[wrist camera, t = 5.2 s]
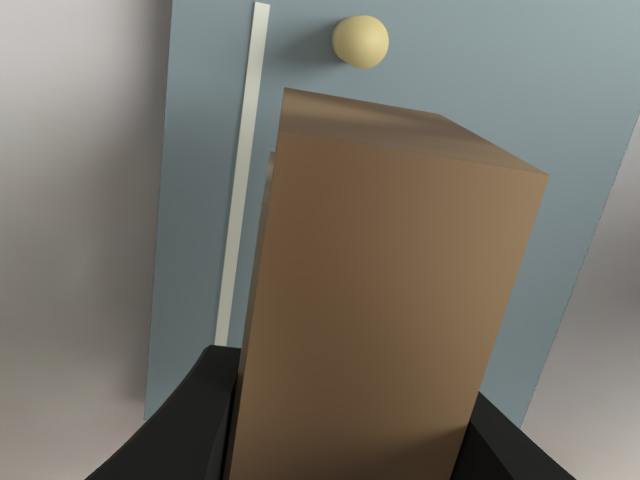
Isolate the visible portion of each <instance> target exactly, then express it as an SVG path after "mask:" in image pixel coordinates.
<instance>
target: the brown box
mask: <svg viewBox="0 0 640 480" xmlns="http://www.w3.org/2000/svg"><path fill="white" fill-rule="evenodd" d="M549 176H550V175H549V174H547V173H545V172H543V171H542V170H540V169H538V168H536V167H534V166H533V165H531V164H529V163H527V162H525V161H524V160H522V159H520V158H518V157H516V156H515V155H513V154H511V153H509V152H507V151H505V150H504V149H502V148H500V147H498V146H496V145H495V144H493V143H491V142H489V141H487V140H486V139H484V138H482V137H480V136H478V135H477V134H475V133H473V132H471V131H469V130H468V129H466V128H464V127H462V126H460V125H459V124H457V123H455V122H453V121H451V120H450V119H448V118H446V117H444V116H442V115H440V114H437V113H431V112H425V111H419V110H413V109H408V108H402V107H396V106H390V105H385V104H379V103H373V102H367V101H361V100H356V99H350V98H344V97H338V96H332V95H327V94H321V93H315V92H309V91H304V90H298V89H292V88H286V87H284V92H283V99H282V106H281V113H280V120H279V127H278V134H277V141H276V147H275V152H271V151H270V156H269V162H268V168H267V174H266V180H265V186H264V192H263V199H262V205H261V212H260V219H259V226H258V233H257V240H256V248H255V255H254V262H253V269H252V276H251V283H250V290H249V297H248V305H247V312H246V319H245V326H244V333H243V340H242V347H241V354H240V362H239V369H238V378H237V385H236V392H235V399H234V406H233V413H232V420H231V427H230V434H229V441H228V448H227V455H226V462H225V469H224V476H223V480H450V477H451V474H452V471H453V468H454V465H455V462H456V459H457V456H458V453H459V450H460V447H461V444H462V441H463V438H464V435H465V431H466V428H467V425H468V422H469V419H470V416H471V413H472V410H473V407H474V404H475V401H476V398H477V395H478V392H479V389H480V386H481V383H482V380H483V377H484V374H485V371H486V368H487V365H488V362H489V359H490V356H491V352H492V349H493V346H494V343H495V340H496V337H497V334H498V331H499V328H500V325H501V322H502V319H503V316H504V313H505V310H506V307H507V304H508V301H509V298H510V295H511V292H512V289H513V286H514V283H515V280H516V277H517V273H518V270H519V267H520V264H521V261H522V258H523V255H524V252H525V249H526V246H527V243H528V240H529V237H530V234H531V231H532V228H533V225H534V222H535V219H536V216H537V213H538V210H539V207H540V204H541V201H542V198H543V194H544V191H545V188H546V185H547V182H548V179H549Z"/></svg>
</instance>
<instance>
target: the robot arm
mask: <svg viewBox="0 0 640 480" xmlns="http://www.w3.org/2000/svg"><path fill="white" fill-rule="evenodd" d="M240 354H241V348H235V347H226V346H218V345H209V346H208V347H206V348H205V349H204V350H203V351H202V353H201V355H200V357H199V358H198V360H197V361H196V363H195V364H194V366H193V367H192V368H191V370H190V371H189V373H188V374H187V375H186V376H185V378H184V379H183V380H182V382H181V383H180V384H179V385H178V387H177V388H176V389H175V390H174V391H173V392H172V394H171V395H170V396H169V397H168V398H167V399H166V401H165V402H164V403H163V404H162V405H161V406H160V408H159V409H158V410H157V411H156V412H155V413H154V414H153V415H152V416H151V417H150V418H149V419H148V420H147V422H146V423H145V424H144V425H143V426H142V427H141V428H140V429H139V430H138V431H137V432H136V433H135V434H134V435H133V436H132V437H131V438H130V439H129V440H128V441H127V442H126V443H125V444H124V445H123V446H122V447H121V448H120V449H118V450H117V451H116V452H115V453H114V454H113V455H112V456H111V457H110V458H109V459H108V460H107V461H105V462H104V463H103V464H102V465H101V466H100V467H99V468H97V469H96V470H95V471H94V472H93V473H92V474H90V475H89V476H88V477H87V478H86V479H84V480H223V476H224V469H225V462H226V455H227V448H228V441H229V434H230V427H231V420H232V413H233V406H234V399H235V392H236V385H237V378H238V369H239V362H240ZM450 480H576V479H575V478H574V477H573V476H571V475H570V474H569V473H568V472H567V471H566V470H564V469H563V468H562V467H561V466H560V465H558V464H557V463H556V462H555V461H554V460H553V459H552V458H551V457H549V456H548V455H547V454H546V453H545V452H544V451H543V450H542V449H540V448H539V447H538V446H537V445H536V444H535V443H534V442H533V441H532V440H531V439H530V438H528V437H527V436H526V435H525V434H524V433H523V432H522V431H521V430H520V429H519V428H518V427H517V426H516V425H514V424H513V423H512V422H511V421H510V420H509V419H508V418H507V417H506V416H505V415H504V414H503V413H502V412H501V411H500V410H499V409H498V408H497V407H496V406H494V405H493V404H492V403H491V402H490V401H489V400H488V399H487V398H486V397H485V396H484V395H483V394H482V393H481V392H480V391H479V392H478V395H477V398H476V401H475V404H474V407H473V410H472V413H471V416H470V419H469V422H468V425H467V428H466V431H465V435H464V438H463V441H462V444H461V447H460V450H459V453H458V456H457V459H456V462H455V465H454V468H453V471H452V474H451V477H450Z"/></svg>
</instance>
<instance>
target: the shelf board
mask: <svg viewBox="0 0 640 480" xmlns="http://www.w3.org/2000/svg"><path fill="white" fill-rule="evenodd" d="M284 87H286V88H292V89H298V90H304V91H309V92H315V93H321V94H327V95H332V96H338V97H344V98H350V99H356V100H361V101H367V102H373V103H379V104H385V105H390V106H396V107H402V108H408V109H413V110H419V111H425V112H431V113H437V114H440V115H442V116H444V117H446V118H448V119H450V120H451V121H453V122H455V123H457V124H459V125H460V126H462V127H464V128H466V129H468V130H469V131H471V132H473V133H475V134H477V135H478V136H480V137H482V138H484V139H486V140H487V141H489V142H491V143H493V144H495V145H496V146H498V147H500V148H502V149H504V150H505V151H507V152H509V153H511V154H513V155H515V156H516V157H518V158H520V159H522V160H524V161H525V162H527V163H529V164H531V165H533V166H534V167H536V168H538V169H540V170H542V171H543V172H545V173H547V174H549V175H550V176H549V179H548V182H547V185H546V188H545V191H544V194H543V198H542V201H541V204H540V207H539V210H538V213H537V216H536V219H535V222H534V225H533V228H532V231H531V234H530V237H529V240H528V243H527V246H526V249H525V252H524V255H523V258H522V261H521V264H520V267H519V270H518V273H517V277H516V280H515V283H514V286H513V289H512V292H511V295H510V298H509V301H508V304H507V307H506V310H505V313H504V316H503V319H502V322H501V325H500V328H499V331H498V334H497V337H496V340H495V343H494V346H493V349H492V352H491V356H490V359H489V362H488V365H487V368H486V371H485V374H484V377H483V380H482V383H481V386H480V389H479V391H480V392H481V393H482V394H483V395H484V396H485V397H486V398H487V399H488V400H489V401H490V402H491V403H492V404H493V405H494V406H496V407H497V408H498V409H499V410H500V411H501V412H502V413H503V414H504V415H505V416H506V417H507V418H508V419H509V420H510V421H511V422H512V423H513V424H514V425H516V426H517V427H518V428H519V429H520V427H521V424H522V422H523V419H524V416H525V414H526V411H527V408H528V406H529V403H530V401H531V398H532V395H533V393H534V390H535V387H536V385H537V382H538V380H539V377H540V374H541V372H542V369H543V366H544V364H545V361H546V358H547V356H548V353H549V351H550V348H551V345H552V343H553V340H554V337H555V335H556V332H557V330H558V327H559V324H560V322H561V319H562V316H563V314H564V311H565V309H566V306H567V303H568V301H569V298H570V295H571V293H572V290H573V288H574V285H575V282H576V280H577V277H578V274H579V272H580V269H581V267H582V264H583V261H584V259H585V256H586V253H587V251H588V248H589V246H590V243H591V240H592V238H593V235H594V232H595V230H596V227H597V224H598V222H599V219H600V217H601V214H602V211H603V209H604V206H605V203H606V201H607V198H608V196H609V193H610V190H611V188H612V185H613V182H614V180H615V177H616V175H617V172H618V169H619V167H620V164H621V161H622V159H623V156H624V154H625V151H626V148H627V146H628V143H629V140H630V138H631V135H632V133H633V130H634V127H635V125H636V122H637V119H638V117H639V114H640V0H173V2H172V16H171V31H170V46H169V60H168V75H167V89H166V104H165V119H164V133H163V148H162V162H161V177H160V192H159V206H158V221H157V236H156V250H155V265H154V279H153V294H152V309H151V323H150V338H149V352H148V367H147V382H146V396H145V411H144V420H148V419H149V418H150V417H151V416H152V415H153V414H154V413H155V412H156V411H157V410H158V409H159V408H160V406H161V405H162V404H163V403H164V402H165V401H166V399H167V398H168V397H169V396H170V395H171V394H172V392H173V391H174V390H175V389H176V388H177V387H178V385H179V384H180V383H181V382H182V380H183V379H184V378H185V376H186V375H187V374H188V373H189V371H190V370H191V368H192V367H193V366H194V364H195V363H196V361H197V360H198V358H199V357H200V355H201V353H202V351H203V350H204V349H205V348H206V347H208V346H209V345H218V346H226V347H235V348H241V347H242V340H243V333H244V326H245V319H246V312H247V305H248V297H249V290H250V283H251V276H252V269H253V262H254V255H255V248H256V240H257V233H258V226H259V219H260V212H261V205H262V199H263V192H264V186H265V180H266V174H267V168H268V162H269V156H270V151H271V152H275V147H276V141H277V134H278V127H279V120H280V113H281V106H282V99H283V92H284Z"/></svg>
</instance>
